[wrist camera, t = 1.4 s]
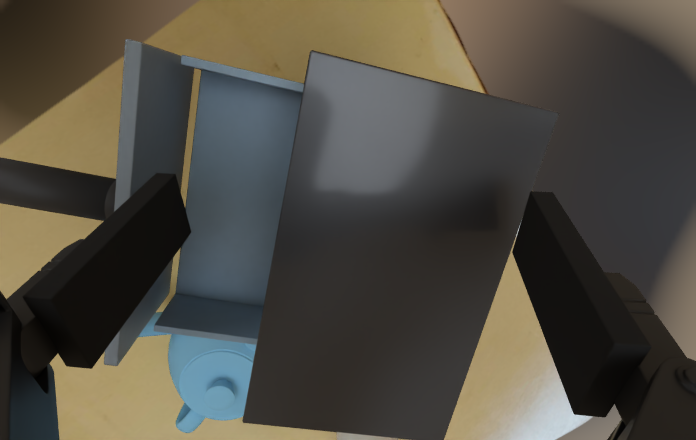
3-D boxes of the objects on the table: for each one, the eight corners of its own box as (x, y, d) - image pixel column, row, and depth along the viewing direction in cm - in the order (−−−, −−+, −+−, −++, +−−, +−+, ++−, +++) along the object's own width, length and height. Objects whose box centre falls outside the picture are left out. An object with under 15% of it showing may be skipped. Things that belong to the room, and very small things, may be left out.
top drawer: (-19, 265, 23) (-154, 334, 17) (-26, 8, 20) (-204, -40, 13) (310, 314, 26) (311, 389, 20) (357, 99, 23) (379, 98, 16)
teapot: (243, 408, 57) (226, 491, 45) (115, 337, 52) (57, 409, 40) (329, 309, 54) (335, 370, 42) (201, 223, 49) (166, 263, 37)
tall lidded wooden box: (283, 216, 49) (241, 423, 18) (308, 83, 45) (310, 49, 14) (361, 231, 51) (448, 444, 19) (392, 103, 47) (567, 114, 15)
